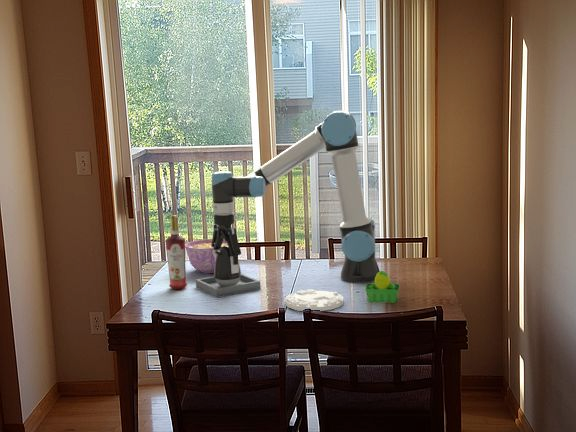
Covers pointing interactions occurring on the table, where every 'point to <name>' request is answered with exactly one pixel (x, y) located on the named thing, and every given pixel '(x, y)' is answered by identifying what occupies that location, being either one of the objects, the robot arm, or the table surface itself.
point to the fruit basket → (382, 289)
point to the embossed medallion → (314, 300)
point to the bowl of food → (202, 254)
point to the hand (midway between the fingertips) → (227, 269)
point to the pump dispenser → (225, 268)
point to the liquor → (176, 257)
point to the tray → (219, 291)
